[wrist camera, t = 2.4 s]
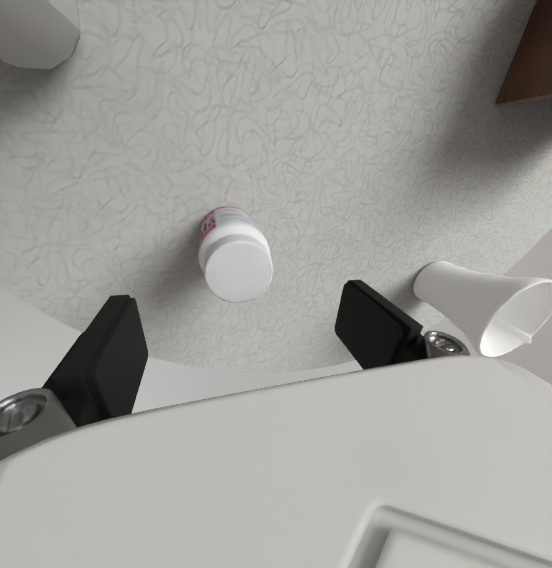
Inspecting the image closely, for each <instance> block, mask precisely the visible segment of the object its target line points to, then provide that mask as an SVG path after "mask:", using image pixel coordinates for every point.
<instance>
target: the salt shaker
mask: <svg viewBox="0 0 552 568" xmlns="http://www.w3.org/2000/svg"><path fill="white" fill-rule="evenodd" d="M80 32H81V31H80V23H79V15H78V7H77V0H0V60H2V61H5V62H7V63H9V64H11V65H13V66H17V67H22V68H36V69H52V68H54V67H55V66H57V65H59V64H60V63H62V62H63V61H65V60H66V59H68V58H69V57H71V56H72V53H73V50H74V48H75V45H76V42H77V41H78V39H79V38H80Z"/></svg>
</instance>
